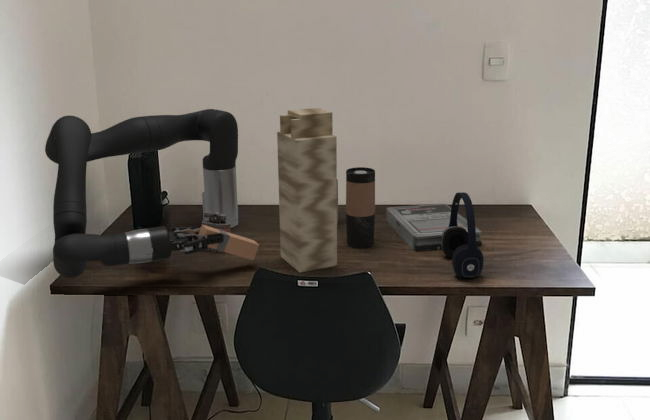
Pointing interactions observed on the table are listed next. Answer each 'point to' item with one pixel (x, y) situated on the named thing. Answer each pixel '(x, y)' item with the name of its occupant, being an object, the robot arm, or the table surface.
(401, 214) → the hard drive
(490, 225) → the table surface
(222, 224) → the lighter
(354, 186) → the travel mug
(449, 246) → the headphones
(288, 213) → the socket tower
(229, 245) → the bar
